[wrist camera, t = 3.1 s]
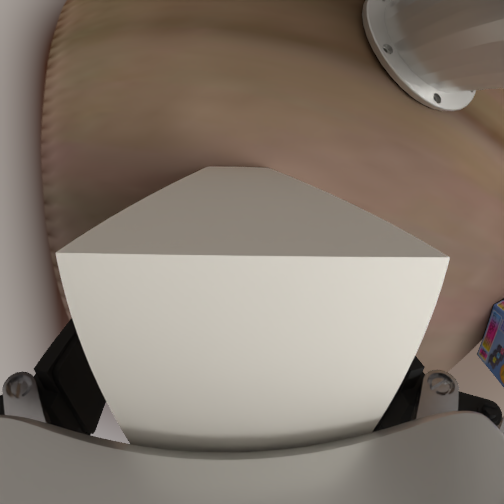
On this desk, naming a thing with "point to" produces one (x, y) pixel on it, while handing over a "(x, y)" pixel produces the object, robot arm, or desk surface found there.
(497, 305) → the ink cartridge box
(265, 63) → the desk surface
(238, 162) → the desk surface
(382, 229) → the white rectangular block
